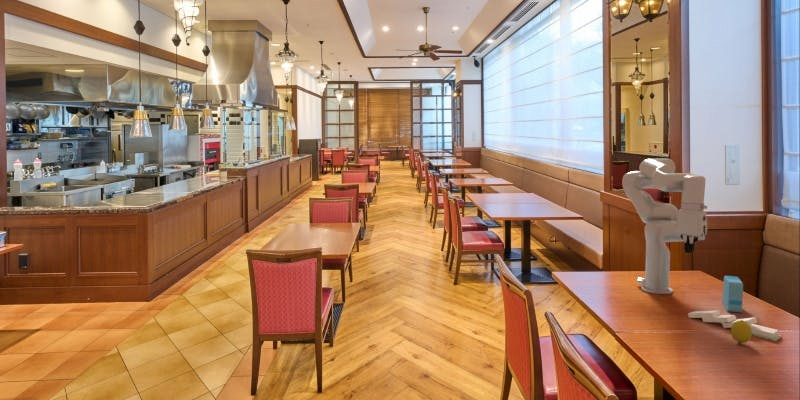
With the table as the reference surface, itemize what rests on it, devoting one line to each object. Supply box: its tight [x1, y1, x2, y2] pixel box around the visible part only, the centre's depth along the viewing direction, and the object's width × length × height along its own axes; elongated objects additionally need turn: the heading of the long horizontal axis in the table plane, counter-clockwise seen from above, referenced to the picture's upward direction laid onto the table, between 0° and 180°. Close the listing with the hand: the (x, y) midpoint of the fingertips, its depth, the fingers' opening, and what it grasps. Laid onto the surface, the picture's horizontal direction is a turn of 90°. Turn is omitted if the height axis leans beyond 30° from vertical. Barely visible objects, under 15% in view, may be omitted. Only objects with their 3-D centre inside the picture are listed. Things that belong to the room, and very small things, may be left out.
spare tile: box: [751, 333, 782, 342], centre depth 165 cm, size 2×5×9 cm
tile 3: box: [721, 316, 758, 329], centre depth 170 cm, size 2×5×9 cm
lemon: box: [730, 320, 753, 345], centre depth 158 cm, size 6×6×8 cm
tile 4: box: [749, 323, 779, 338], centre depth 166 cm, size 2×5×9 cm
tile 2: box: [702, 314, 737, 323], centre depth 175 cm, size 2×5×9 cm
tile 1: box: [687, 310, 722, 319], centre depth 180 cm, size 2×5×9 cm
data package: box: [722, 275, 744, 314], centre depth 192 cm, size 12×4×12 cm, turn 155°
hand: (688, 252), depth 193 cm, fingers closed
